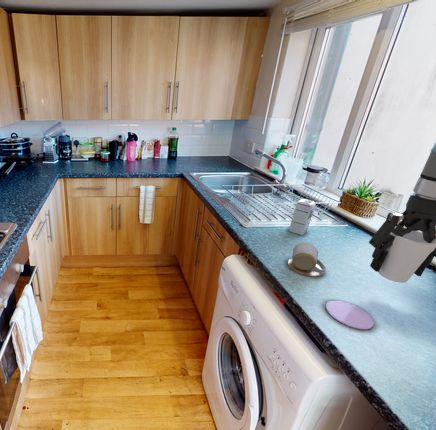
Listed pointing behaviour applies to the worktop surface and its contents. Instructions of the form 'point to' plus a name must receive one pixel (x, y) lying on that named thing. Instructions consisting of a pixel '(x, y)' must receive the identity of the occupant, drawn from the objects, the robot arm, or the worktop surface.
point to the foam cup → (405, 256)
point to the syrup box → (302, 216)
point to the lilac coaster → (349, 315)
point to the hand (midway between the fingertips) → (394, 271)
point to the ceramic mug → (307, 257)
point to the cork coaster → (304, 272)
